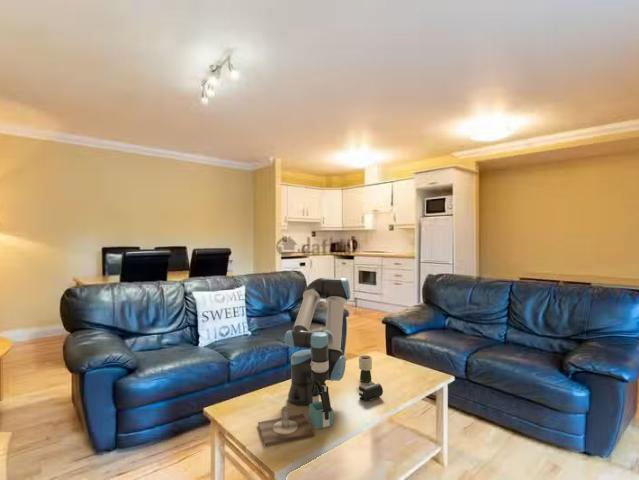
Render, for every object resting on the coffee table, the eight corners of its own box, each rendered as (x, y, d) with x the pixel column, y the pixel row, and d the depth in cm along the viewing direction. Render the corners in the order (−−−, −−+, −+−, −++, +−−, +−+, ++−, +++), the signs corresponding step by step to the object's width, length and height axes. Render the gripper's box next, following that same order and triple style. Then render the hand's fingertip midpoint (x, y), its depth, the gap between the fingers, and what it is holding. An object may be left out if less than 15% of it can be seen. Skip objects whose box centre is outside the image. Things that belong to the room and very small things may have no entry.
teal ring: (309, 419, 156) (309, 403, 156) (326, 416, 159) (326, 400, 159) (315, 428, 149) (314, 412, 149) (332, 425, 151) (332, 409, 151)
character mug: (366, 375, 202) (365, 353, 202) (376, 379, 198) (376, 356, 197) (354, 382, 194) (354, 358, 194) (365, 385, 190) (364, 361, 189)
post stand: (258, 425, 152) (257, 402, 152) (303, 417, 159) (302, 394, 158) (264, 446, 137) (264, 421, 137) (314, 436, 144) (313, 411, 143)
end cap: (367, 404, 169) (367, 390, 169) (358, 398, 175) (358, 385, 175) (383, 398, 175) (383, 385, 174) (373, 393, 181) (373, 380, 180)
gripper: (303, 361, 164) (304, 406, 165) (321, 382, 140) (322, 435, 141) (319, 358, 166) (319, 403, 167) (338, 379, 143) (339, 431, 143)
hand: (320, 418), depth 154 cm, fingers open, 13 cm apart
